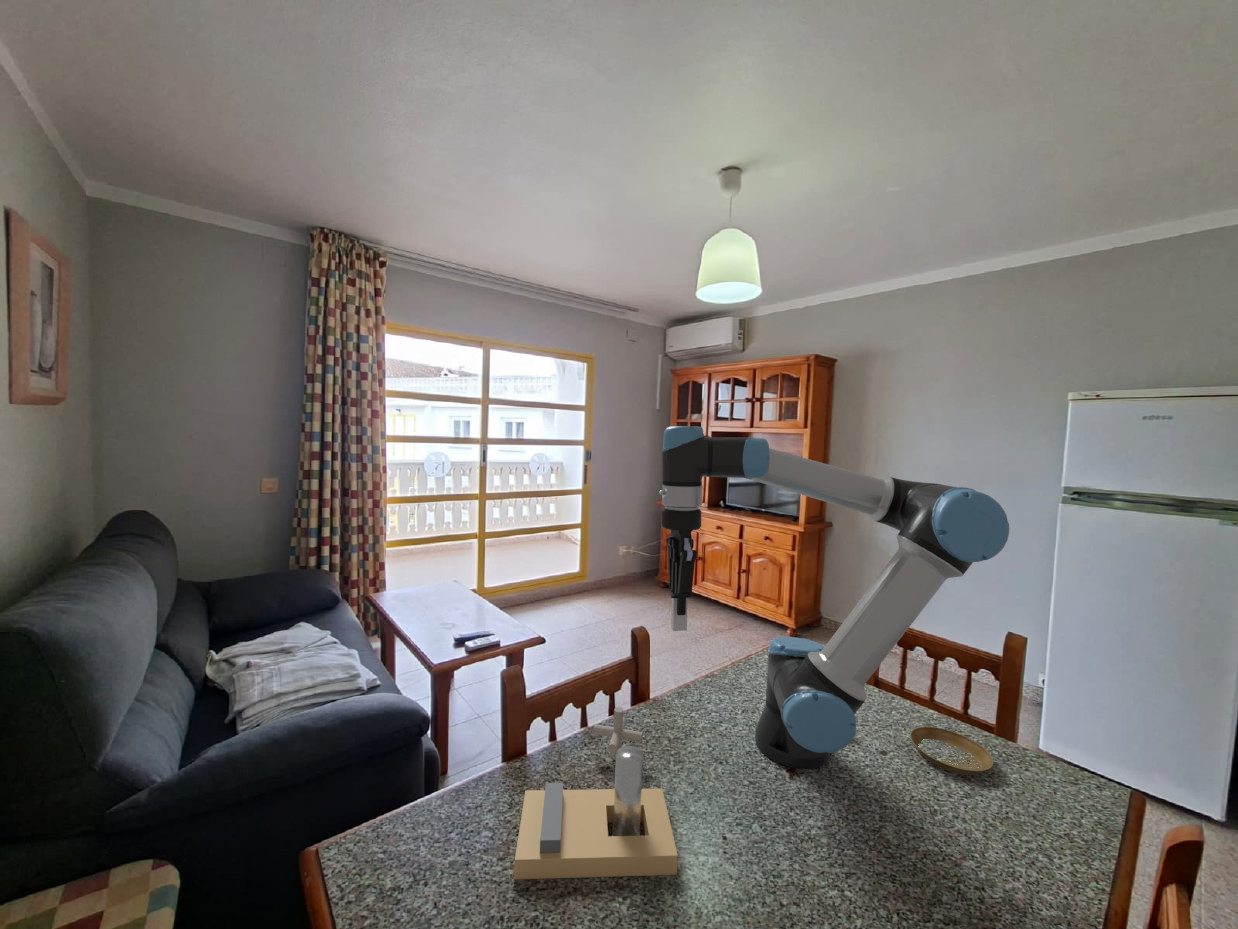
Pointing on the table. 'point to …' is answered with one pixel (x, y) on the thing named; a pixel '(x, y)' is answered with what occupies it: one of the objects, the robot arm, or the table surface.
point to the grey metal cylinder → (627, 791)
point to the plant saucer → (961, 743)
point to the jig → (590, 836)
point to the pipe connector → (617, 732)
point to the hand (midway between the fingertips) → (678, 629)
